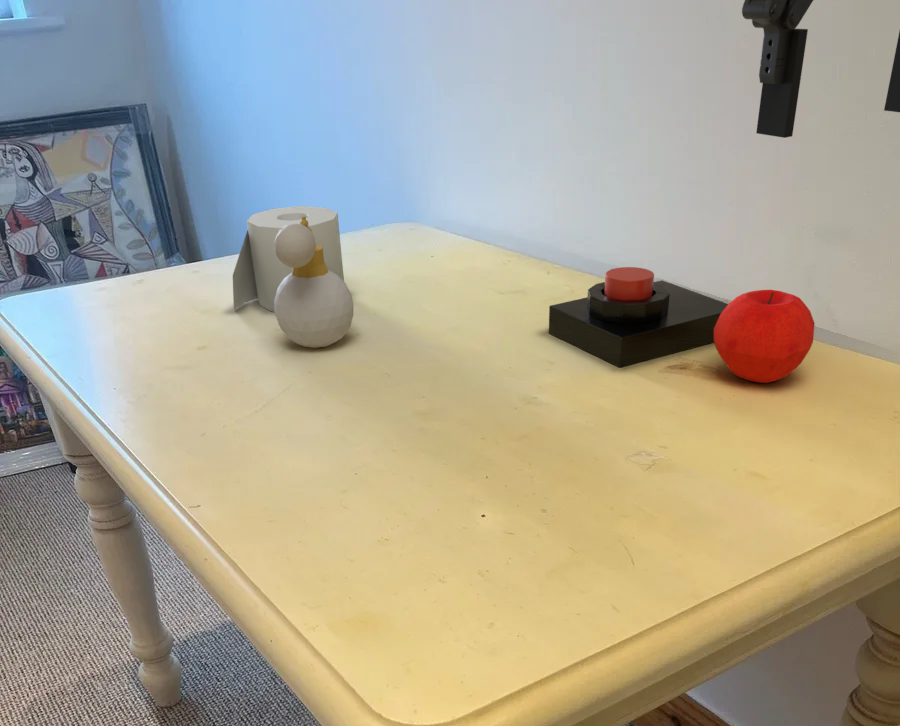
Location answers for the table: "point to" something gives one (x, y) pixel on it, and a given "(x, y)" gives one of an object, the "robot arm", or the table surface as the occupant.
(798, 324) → the apple
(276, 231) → the toilet tissue
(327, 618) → the table surface
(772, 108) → the robot arm
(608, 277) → the button
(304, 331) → the perfume bottle
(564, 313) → the button base
